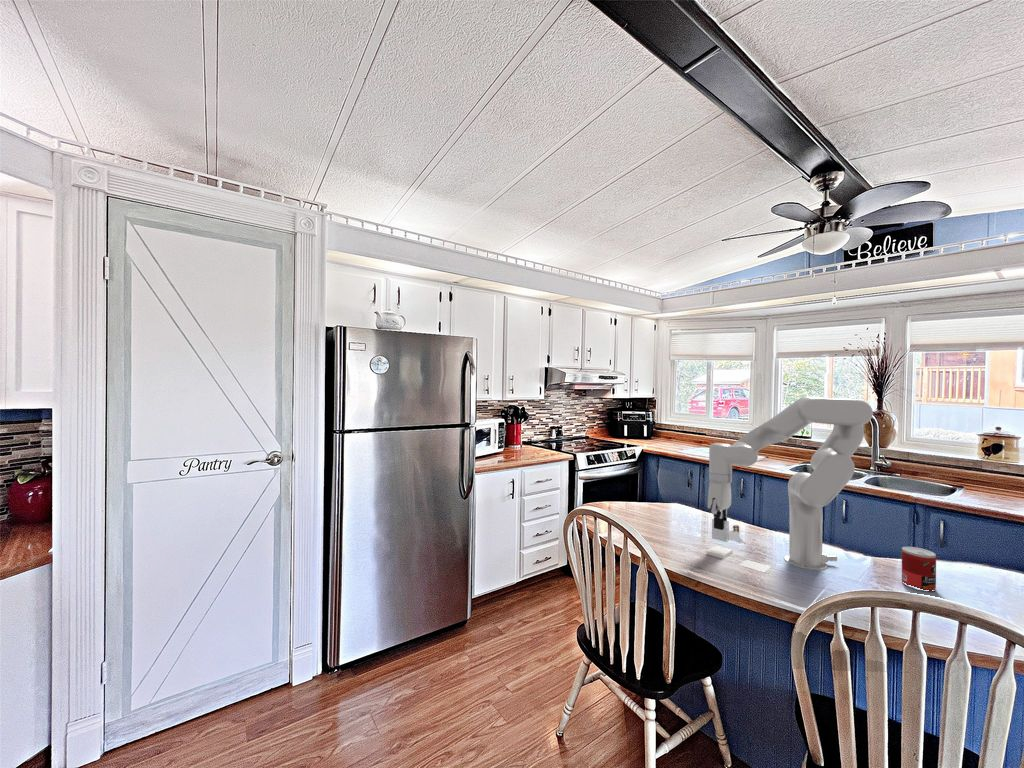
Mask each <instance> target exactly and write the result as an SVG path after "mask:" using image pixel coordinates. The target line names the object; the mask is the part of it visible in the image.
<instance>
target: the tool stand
mask: <svg viewBox="0 0 1024 768" xmlns="http://www.w3.org/2000/svg"><path fill="white" fill-rule="evenodd" d="M738 566H739V567H740V566H741V567H744V568H747V569H750V570H753V571H757V572H758V571H759V572H761V573H766V572H767V571H769V570H770V569H771V568H772V566H771V565H768V564H765V563H759V562H757V561H753V560H749V559H746V560H744V561H743V562H741V563H739V564H738Z"/></svg>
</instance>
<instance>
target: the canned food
mask: <svg viewBox="0 0 1024 768" xmlns="http://www.w3.org/2000/svg"><path fill="white" fill-rule="evenodd" d="M936 555H937V554H936V553H935V552H933V551H931V550H928V549H925V548H921V547H915V546H902V547H901V582H902V583H903V582H904V583H906V584H907V585H911V586H914V587H917V588H920V589H923V590H929V591H932V590H935V591H936V589H937V556H936Z"/></svg>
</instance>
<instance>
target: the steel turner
mask: <svg viewBox="0 0 1024 768" xmlns="http://www.w3.org/2000/svg"><path fill="white" fill-rule="evenodd" d="M719 513H720V512H719ZM722 519H723V512H722ZM729 531H730V521H729V520H727V521H725V520H723V530H720V529H716V528H714V518H712V519H711V539H713V540H717V541H719V542H724V543H727V542H728V541H730V540H729Z"/></svg>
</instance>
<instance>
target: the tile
mask: <svg viewBox="0 0 1024 768" xmlns="http://www.w3.org/2000/svg"><path fill="white" fill-rule="evenodd" d="M733 551H734V550H733V549H730V548H726V547H722V546H720V545H714V546H713V547H711V548H709V549H707V550H706V555H709V556H713V557H716V558H720V559H723V560H724V559H725V558H727V557H729V556H730V555H733V553H734V552H733Z"/></svg>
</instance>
